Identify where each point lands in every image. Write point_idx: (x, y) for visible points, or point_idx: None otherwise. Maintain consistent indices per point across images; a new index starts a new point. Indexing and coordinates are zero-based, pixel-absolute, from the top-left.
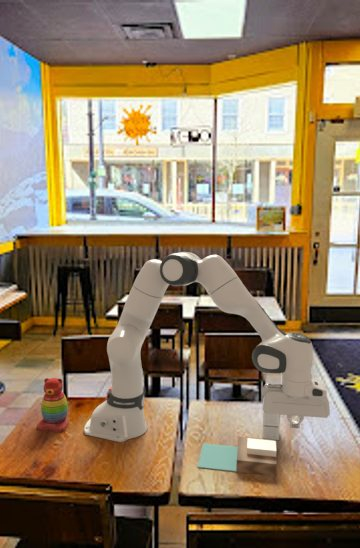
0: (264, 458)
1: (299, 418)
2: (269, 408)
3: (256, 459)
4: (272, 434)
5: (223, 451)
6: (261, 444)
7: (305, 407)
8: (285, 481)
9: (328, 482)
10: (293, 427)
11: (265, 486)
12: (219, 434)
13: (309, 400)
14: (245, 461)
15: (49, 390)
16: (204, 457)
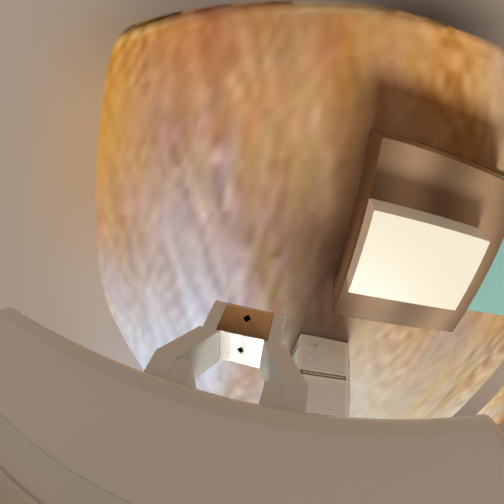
0: (425, 188)
1: (189, 363)
2: (475, 461)
3: (459, 183)
4: (319, 350)
5: (491, 281)
6: (424, 267)
7: (79, 443)
8: (338, 93)
9: (171, 103)
10: (260, 311)
11: (421, 70)
12: (456, 354)
13: (23, 483)
14: (497, 177)
15: None
16: None
